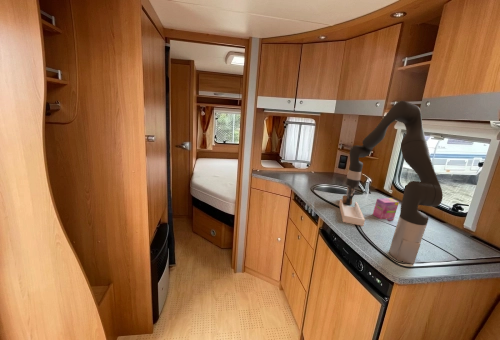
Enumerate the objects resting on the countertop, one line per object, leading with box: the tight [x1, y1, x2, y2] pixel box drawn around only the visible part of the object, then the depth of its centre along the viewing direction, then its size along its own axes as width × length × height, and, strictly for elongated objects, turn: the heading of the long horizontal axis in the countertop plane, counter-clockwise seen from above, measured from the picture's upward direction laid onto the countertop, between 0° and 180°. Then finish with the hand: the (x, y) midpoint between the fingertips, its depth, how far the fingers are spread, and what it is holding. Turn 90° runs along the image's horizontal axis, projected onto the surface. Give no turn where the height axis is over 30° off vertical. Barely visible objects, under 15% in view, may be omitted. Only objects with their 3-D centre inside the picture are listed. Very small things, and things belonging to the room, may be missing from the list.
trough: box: [338, 198, 366, 227], centre depth 127 cm, size 25×10×5 cm, turn 163°
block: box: [341, 194, 353, 205], centre depth 143 cm, size 5×5×5 cm
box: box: [372, 197, 400, 221], centre depth 127 cm, size 10×6×12 cm, turn 105°
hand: (347, 203), depth 139 cm, fingers closed
